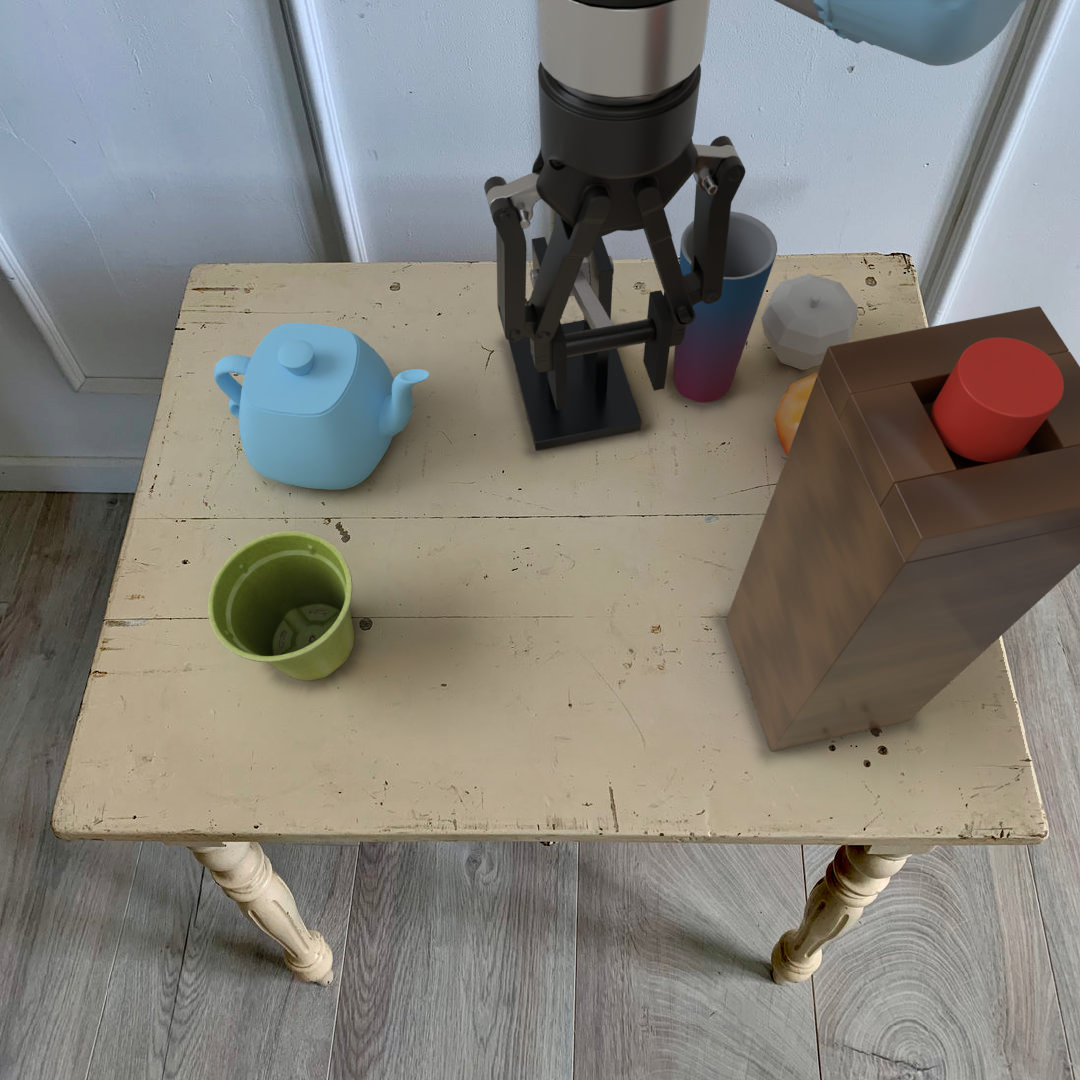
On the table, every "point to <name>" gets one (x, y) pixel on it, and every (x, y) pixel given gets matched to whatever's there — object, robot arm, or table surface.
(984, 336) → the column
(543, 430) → the bracket
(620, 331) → the lever
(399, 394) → the teapot
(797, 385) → the fruit
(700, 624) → the table surface
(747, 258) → the cup
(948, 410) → the button
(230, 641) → the plant pot
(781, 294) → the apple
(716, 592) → the table surface
